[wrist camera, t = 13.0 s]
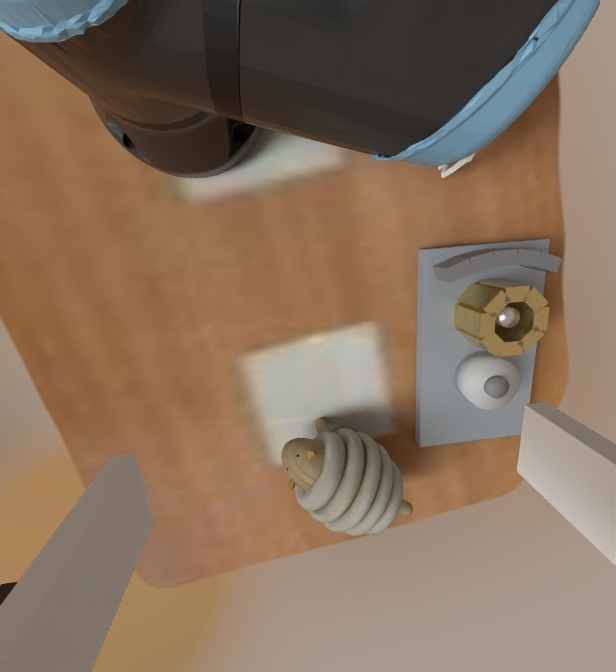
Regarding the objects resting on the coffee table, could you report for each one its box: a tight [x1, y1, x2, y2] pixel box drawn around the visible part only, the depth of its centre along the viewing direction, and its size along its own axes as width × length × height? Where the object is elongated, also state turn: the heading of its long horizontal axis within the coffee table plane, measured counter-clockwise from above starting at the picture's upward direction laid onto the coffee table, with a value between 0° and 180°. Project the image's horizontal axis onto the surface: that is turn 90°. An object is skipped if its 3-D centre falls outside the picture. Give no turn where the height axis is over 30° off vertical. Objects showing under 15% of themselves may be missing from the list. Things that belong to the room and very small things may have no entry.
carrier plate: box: [415, 239, 563, 447], centre depth 38 cm, size 24×14×5 cm, turn 5°
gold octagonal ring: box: [453, 279, 550, 357], centre depth 35 cm, size 7×7×5 cm
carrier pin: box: [495, 306, 520, 328], centre depth 35 cm, size 2×2×4 cm
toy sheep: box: [281, 418, 413, 536], centre depth 37 cm, size 11×17×11 cm, turn 63°
